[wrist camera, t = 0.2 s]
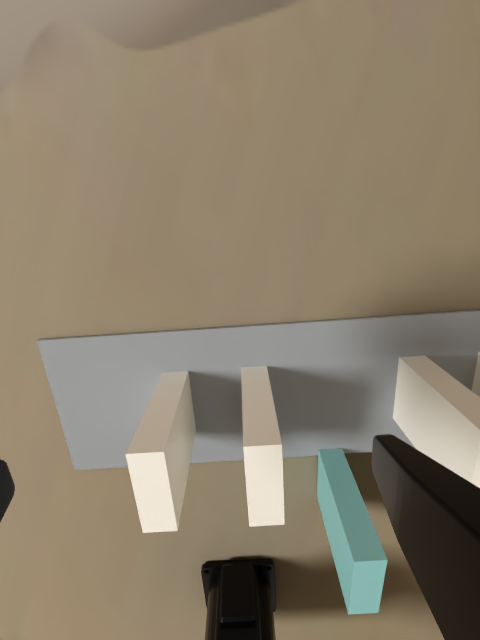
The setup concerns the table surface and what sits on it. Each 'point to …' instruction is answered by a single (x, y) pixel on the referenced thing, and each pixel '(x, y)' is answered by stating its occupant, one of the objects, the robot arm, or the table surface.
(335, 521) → the domino
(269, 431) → the domino
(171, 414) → the domino
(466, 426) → the domino
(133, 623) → the table surface
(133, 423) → the runner mat
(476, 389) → the domino
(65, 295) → the table surface
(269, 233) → the table surface
